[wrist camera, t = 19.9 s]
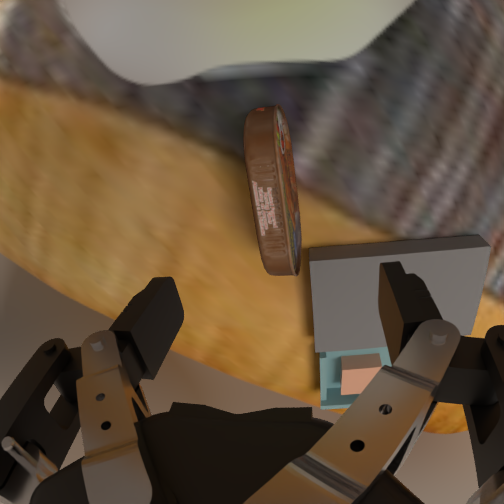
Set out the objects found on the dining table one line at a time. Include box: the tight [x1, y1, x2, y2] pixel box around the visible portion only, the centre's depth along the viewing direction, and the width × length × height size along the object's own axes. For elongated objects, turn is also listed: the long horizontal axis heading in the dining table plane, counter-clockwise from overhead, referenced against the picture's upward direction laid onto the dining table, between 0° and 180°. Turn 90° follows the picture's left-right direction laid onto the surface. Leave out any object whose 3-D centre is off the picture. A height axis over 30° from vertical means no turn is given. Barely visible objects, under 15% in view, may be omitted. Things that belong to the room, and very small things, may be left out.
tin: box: [243, 104, 301, 276], centre depth 27 cm, size 15×3×8 cm, turn 9°
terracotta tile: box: [340, 353, 382, 395], centre depth 38 cm, size 5×5×2 cm
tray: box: [320, 347, 392, 409], centre depth 37 cm, size 19×10×4 cm, turn 99°
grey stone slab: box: [309, 235, 491, 353], centre depth 33 cm, size 20×12×3 cm, turn 99°
